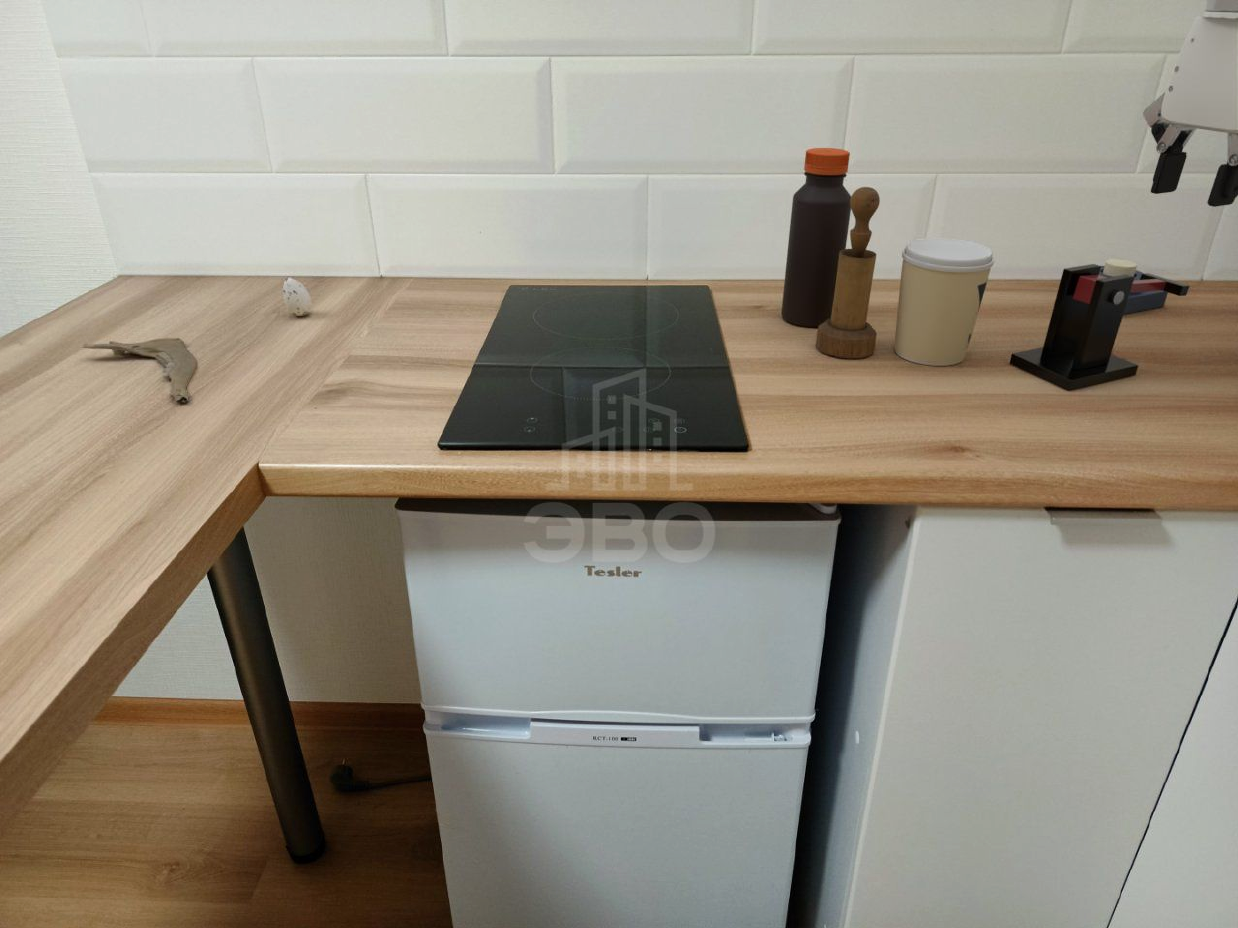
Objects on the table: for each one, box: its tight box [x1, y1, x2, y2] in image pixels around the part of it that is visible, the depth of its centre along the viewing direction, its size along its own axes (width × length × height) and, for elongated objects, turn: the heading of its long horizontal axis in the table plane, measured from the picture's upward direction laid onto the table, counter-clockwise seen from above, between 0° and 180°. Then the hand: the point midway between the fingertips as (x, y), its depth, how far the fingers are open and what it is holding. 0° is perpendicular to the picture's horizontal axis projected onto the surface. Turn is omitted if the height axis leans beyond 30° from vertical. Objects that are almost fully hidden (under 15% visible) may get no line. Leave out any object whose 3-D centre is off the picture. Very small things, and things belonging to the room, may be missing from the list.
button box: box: [1099, 265, 1169, 316], centre depth 112 cm, size 10×8×4 cm
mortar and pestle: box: [815, 186, 881, 359], centre depth 94 cm, size 7×6×18 cm
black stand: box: [1009, 263, 1139, 392], centre depth 91 cm, size 10×8×11 cm
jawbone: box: [82, 337, 198, 404], centre depth 93 cm, size 9×20×2 cm, turn 53°
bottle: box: [781, 147, 852, 328], centre depth 103 cm, size 7×7×20 cm
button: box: [1103, 258, 1138, 277], centre depth 111 cm, size 4×4×2 cm
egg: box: [282, 276, 313, 317], centre depth 107 cm, size 3×3×5 cm
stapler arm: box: [1073, 272, 1190, 304], centre depth 91 cm, size 13×5×2 cm, turn 114°
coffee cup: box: [894, 237, 995, 367], centre depth 95 cm, size 9×9×12 cm
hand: (1190, 196), depth 89 cm, fingers open, 5 cm apart
